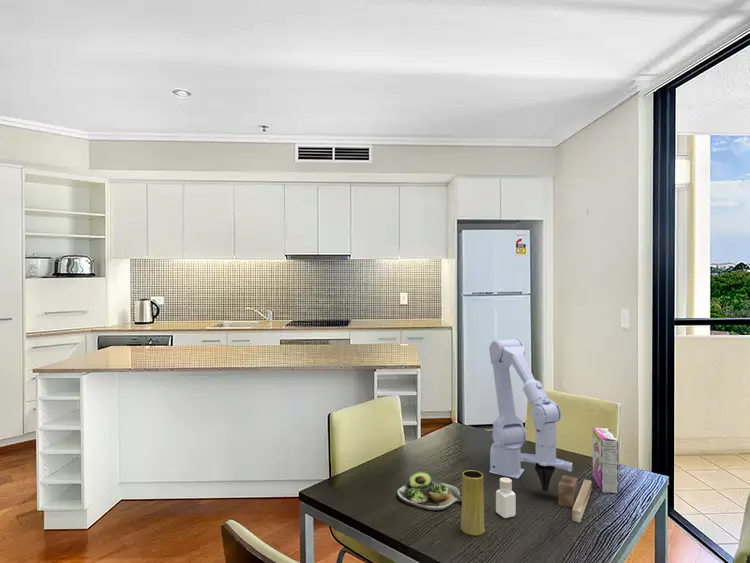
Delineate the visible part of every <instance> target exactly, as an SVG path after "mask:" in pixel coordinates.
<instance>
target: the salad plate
mask: <svg viewBox="0 0 750 563" xmlns="http://www.w3.org/2000/svg"><path fill="white" fill-rule="evenodd" d="M396 496H397V498H398V499H399V500H400V501H401V502H403V503H405V504H406V505H410V506H414V507H417V508H421V509H427V510H431V511H441V510H446V509H448V508H450V507H451V506H452V505H453V504H454V503H456V502H462V495H460V490H459V489H458V487H456V486H454V485H451V484H448V483H445V482H444V483H443V482H441V481H439V480H437V478H435V477H433V476H431V474H429V473H428V472H425V471H417V472H415V473H413V474H412V475H410V476H409V478H408V482H407V483H406V484H404V485H403V486H402V487H399V488H398V489H397V491H396ZM426 502H435V503H439V504H438V505H426V504H425V505H424V504H421V503H426Z"/></svg>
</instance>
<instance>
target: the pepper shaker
mask: <svg viewBox="0 0 750 563" xmlns="http://www.w3.org/2000/svg"><path fill="white" fill-rule="evenodd" d="M512 484H513V480H512V478H510V477H500V478H499V488H498V489H497V490H496V491H495V512H496V513H497V514H498V515H499V516H501V517H502V518H503V519H507V518H512V517H515V516H516V504H517V503H516V502H517V500H516V499H517V498H516V497H517V496H516V493H515V492H514V491H513V490H512V488H513V485H512Z"/></svg>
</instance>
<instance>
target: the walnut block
mask: <svg viewBox="0 0 750 563" xmlns="http://www.w3.org/2000/svg"><path fill="white" fill-rule="evenodd" d="M557 486H558V487H557V488H558V494H557V495H558V500H557V501H558V505H559V506H563V507H566V506H567V508H570V507H571V508H570V509H573V507H574V504H575V502H576V499H577V497H578V477H574V476H569V475H562V476H561V479H560V480H559V482H558V485H557ZM558 505H557V506H558Z"/></svg>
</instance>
